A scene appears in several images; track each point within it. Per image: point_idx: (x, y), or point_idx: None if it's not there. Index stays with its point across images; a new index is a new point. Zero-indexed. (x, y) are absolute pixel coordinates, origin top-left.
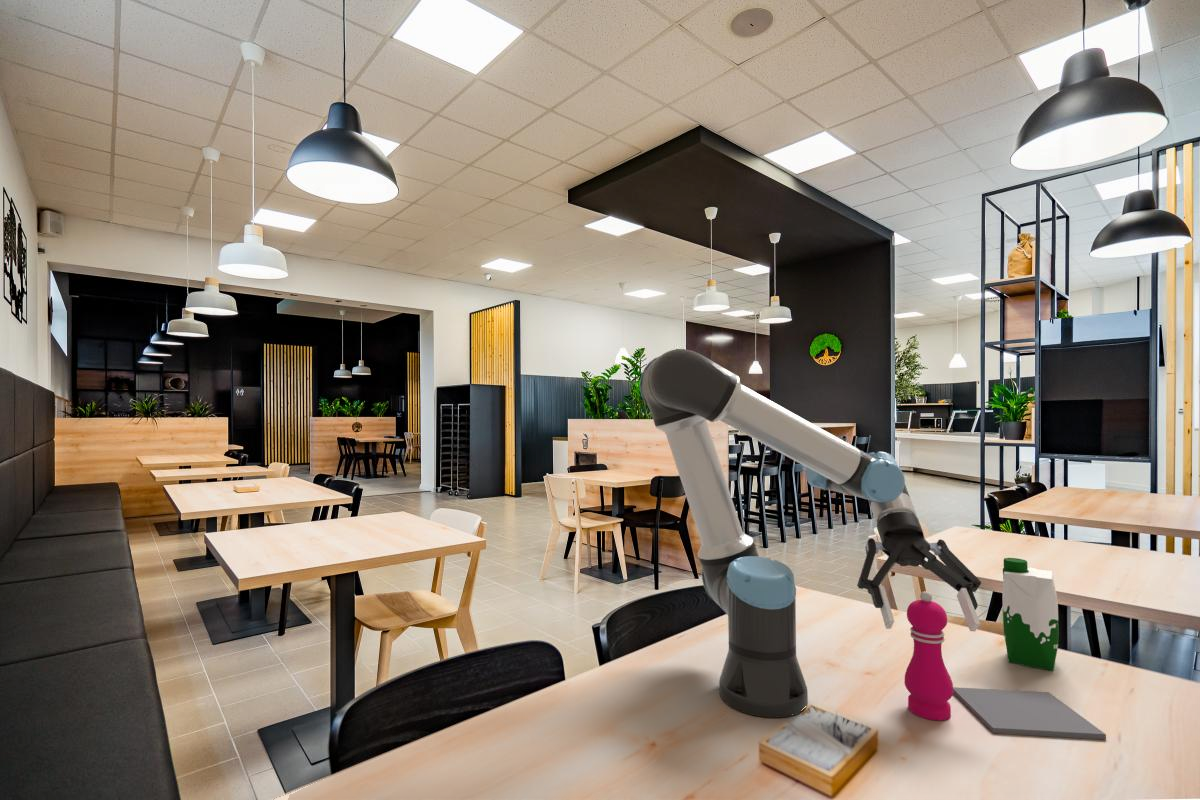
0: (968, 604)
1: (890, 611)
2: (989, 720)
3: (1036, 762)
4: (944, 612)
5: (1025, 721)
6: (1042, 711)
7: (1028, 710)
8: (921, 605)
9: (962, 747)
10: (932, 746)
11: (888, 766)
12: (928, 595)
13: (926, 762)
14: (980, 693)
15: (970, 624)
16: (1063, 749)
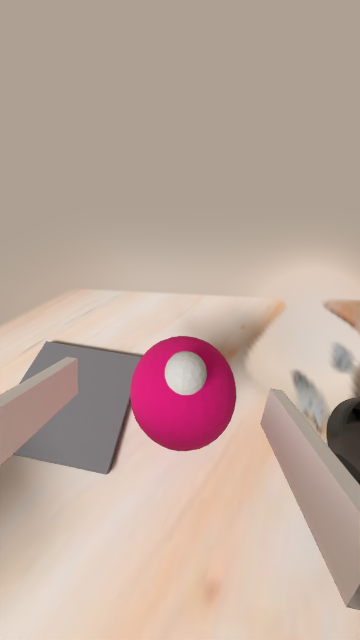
0: (27, 389)
1: (287, 409)
2: (133, 370)
3: (143, 317)
4: (150, 348)
5: (97, 366)
6: None
7: None
8: (212, 357)
9: None
10: (211, 340)
11: (257, 318)
12: (186, 352)
13: (226, 321)
14: (82, 446)
15: (70, 387)
16: (104, 332)
